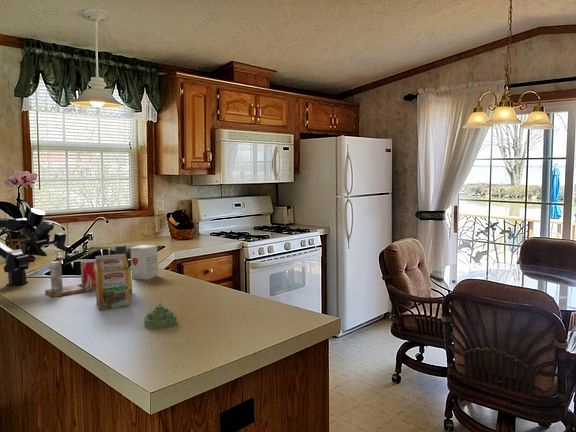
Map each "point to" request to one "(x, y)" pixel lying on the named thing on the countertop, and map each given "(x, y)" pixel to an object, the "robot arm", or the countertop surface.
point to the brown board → (57, 283)
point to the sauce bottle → (122, 250)
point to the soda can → (88, 273)
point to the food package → (112, 282)
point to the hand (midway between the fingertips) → (56, 252)
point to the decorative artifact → (160, 318)
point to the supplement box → (144, 262)
